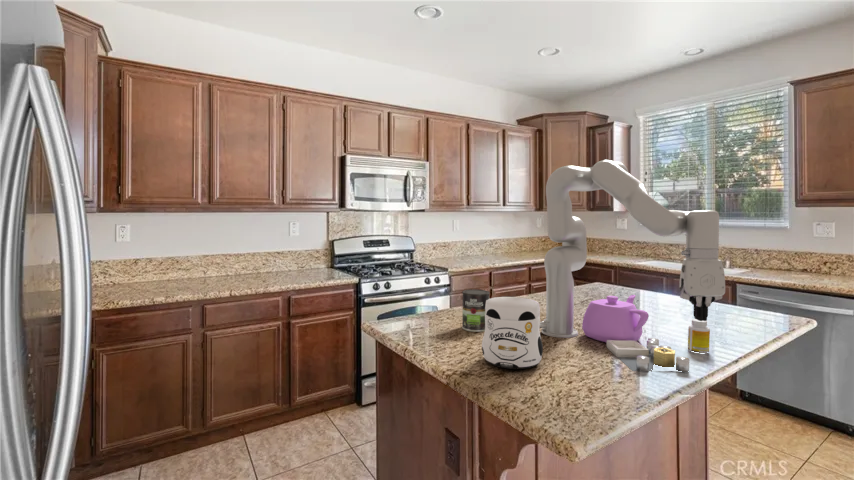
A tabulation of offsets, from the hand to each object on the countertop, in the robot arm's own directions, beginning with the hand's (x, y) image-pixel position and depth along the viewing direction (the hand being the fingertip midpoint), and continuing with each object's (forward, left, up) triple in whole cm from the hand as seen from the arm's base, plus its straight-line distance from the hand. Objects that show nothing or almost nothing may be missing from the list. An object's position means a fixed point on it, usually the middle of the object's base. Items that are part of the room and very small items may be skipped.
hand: (700, 319), depth 115 cm
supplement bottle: (+7, +12, -14) cm, 20 cm away
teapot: (-15, +25, -14) cm, 32 cm away
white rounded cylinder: (-52, -1, -14) cm, 54 cm away
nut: (-9, 0, -13) cm, 16 cm away
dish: (-16, +10, -13) cm, 23 cm away
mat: (-13, +4, -14) cm, 19 cm away
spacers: (-12, +4, -14) cm, 19 cm away
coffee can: (-61, +35, -14) cm, 72 cm away
